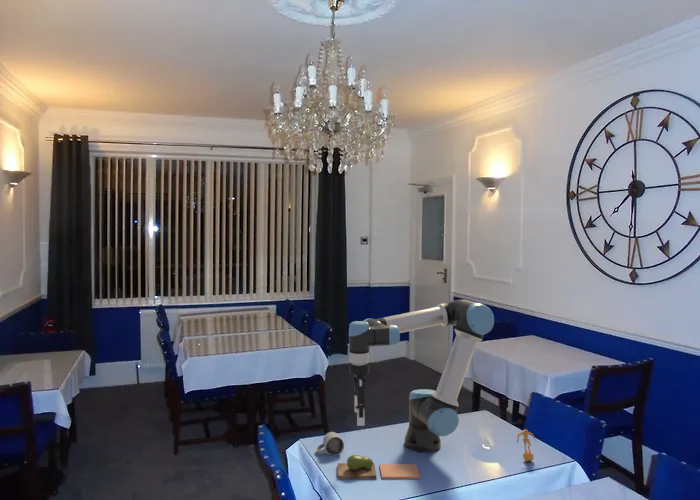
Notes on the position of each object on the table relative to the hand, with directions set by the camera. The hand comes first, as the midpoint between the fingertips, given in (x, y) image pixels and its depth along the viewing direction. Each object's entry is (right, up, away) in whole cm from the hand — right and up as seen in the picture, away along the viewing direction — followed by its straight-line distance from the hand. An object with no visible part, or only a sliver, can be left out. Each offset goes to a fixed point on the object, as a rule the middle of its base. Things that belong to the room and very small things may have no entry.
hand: (359, 418), depth 196 cm
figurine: (+67, -20, +10) cm, 70 cm away
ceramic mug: (-12, -19, +15) cm, 27 cm away
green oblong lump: (0, -18, -2) cm, 18 cm away
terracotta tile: (+15, -20, -2) cm, 25 cm away
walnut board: (-1, -19, -3) cm, 20 cm away
